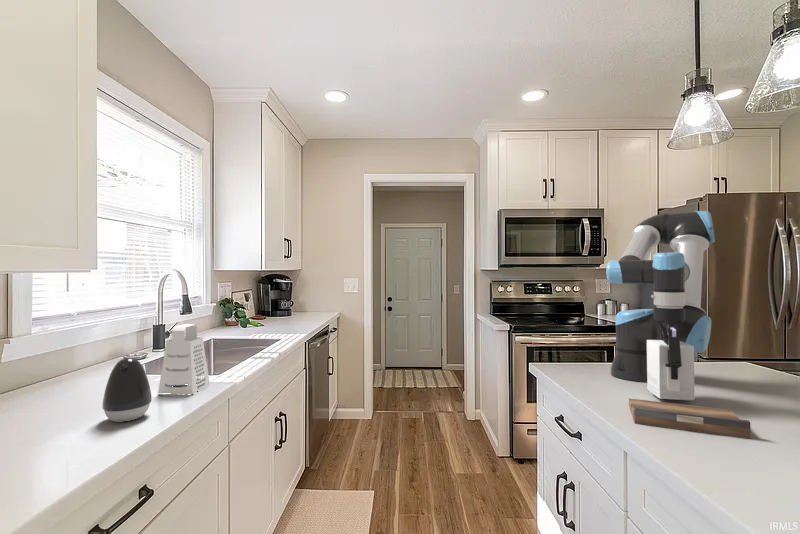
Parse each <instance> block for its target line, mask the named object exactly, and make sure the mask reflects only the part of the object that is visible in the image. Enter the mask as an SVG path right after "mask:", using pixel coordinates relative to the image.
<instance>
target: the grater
mask: <svg viewBox="0 0 800 534" xmlns="http://www.w3.org/2000/svg"><path fill="white" fill-rule="evenodd" d="M171 331H172V333H171V334H172V335H171V336H172V339H170V340H166V342H165V347H164V354H163V360H162V361H163V362H162V367H161V374H160V380H159V383H158V384H159V385H158V391H157V394H158V393H171V394H194V393H195V392H197V391H199V390H201V389H203V388H205V387H206V388H208V387H210V386H211V384H210V378H209V371H208V365H207V364H208V363H207V358H206V350H205V344H204V337H203V336H201V337H199V336H198V327H197V324H187V323H186V324H181V325H176V326H173V328H172V330H171ZM185 384H188V385H185ZM196 384H197V385H196ZM175 385H177V386H180V387H177V386H175ZM209 385H210V386H209ZM172 386H175V387H172ZM181 386H183V387H181ZM207 386H208V387H207ZM206 388H205V389H206ZM203 390H204V389H203ZM201 391H202V390H201ZM199 392H200V391H199ZM194 395H195V394H194Z"/></svg>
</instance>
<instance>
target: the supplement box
mask: <svg viewBox="0 0 800 534" xmlns="http://www.w3.org/2000/svg"><path fill="white" fill-rule="evenodd" d="M668 350H669V345H667V344H666V343H664V341H663V340H647V382H646V383H647V391H649V392H650V393H651V394H652V395H654V396H656V397H657V398H658V399H661V400H663V399H666V400H679V401H681V400H682V401H683V400H684V401H695V395H696V394H695V352H694V346H692V345H689V344H686V343H684V342H681V341H680V352H681V364H682V366H681V367H680V392H679V391H668V380H667V367H666V366H665V365H666V364H668ZM673 362H676V361H673Z"/></svg>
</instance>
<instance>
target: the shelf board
mask: <svg viewBox="0 0 800 534" xmlns="http://www.w3.org/2000/svg"><path fill="white" fill-rule="evenodd" d="M628 407H629V411H630V413H631V416H632V419H633V422H634V424H637V425H646V426H653V427H658V426H659V427H661V428H667V429H674V428H675V430H681V429H685V430H684V431H689V430H692V431H691V432H696V431H700V432H699V433H704V432H706V433H705V434H711V433H714V434H713V435H719V434H721V435H720V436H726V435H728V436H727V437H734V436H735V437H736V438H744V439H751V421H750V420H748V419H743V418H741V419H740V418H739V417H738V416H737V415H736V414H735V413H734V412H733V411H731V409H727V408H717V407H712V406H711V407H710V406H700V405H692V404H691V405H690V404H683V403H674V402H666V401H663V402H662V401H656V400H647V399H637V398H636V399H635V398H630V397H629V398H628ZM735 437H734V438H735Z"/></svg>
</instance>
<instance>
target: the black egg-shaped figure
mask: <svg viewBox="0 0 800 534" xmlns="http://www.w3.org/2000/svg"><path fill="white" fill-rule="evenodd" d="M151 391H152V390H151V386H150V383H149V378H148V376H147V373H146V370H145V368H144V366H143V365H142V364H141V362H140V361H139V360H138V359H137V358H135V357H125V358H122V359H120V360H119V361H118V362H117V363H116V364H115V365H114V367H113V368H112V370H111V371H110V374H109V376H108V379H107V382H106V386H105V389H104V393H103V398H102V406H101V407H102V410H103V411H104V415H105V416H106V418H107V419H108V420H110V421H112V422H115V423H124V422H123V421H128V422H131V421H130V420H133V421H135V420H134V419H136V420H138V419H140V418H141V417H142V416H144V415H145V414H146V413H147V411H148V410H149V408H150V405H151V403H152V393H151ZM139 417H140V418H139ZM137 418H138V419H137Z"/></svg>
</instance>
